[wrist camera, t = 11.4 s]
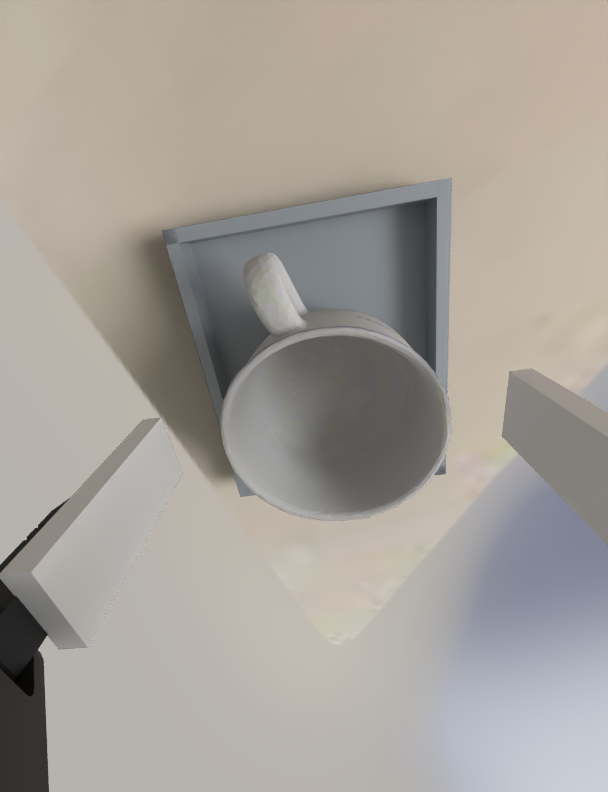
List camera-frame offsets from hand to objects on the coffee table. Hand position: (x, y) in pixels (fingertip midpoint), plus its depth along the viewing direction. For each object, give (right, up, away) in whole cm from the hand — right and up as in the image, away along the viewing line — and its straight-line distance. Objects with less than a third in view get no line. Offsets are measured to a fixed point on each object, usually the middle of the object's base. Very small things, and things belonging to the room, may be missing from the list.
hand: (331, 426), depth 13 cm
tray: (0, +4, +10) cm, 11 cm away
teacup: (0, +4, +9) cm, 10 cm away
